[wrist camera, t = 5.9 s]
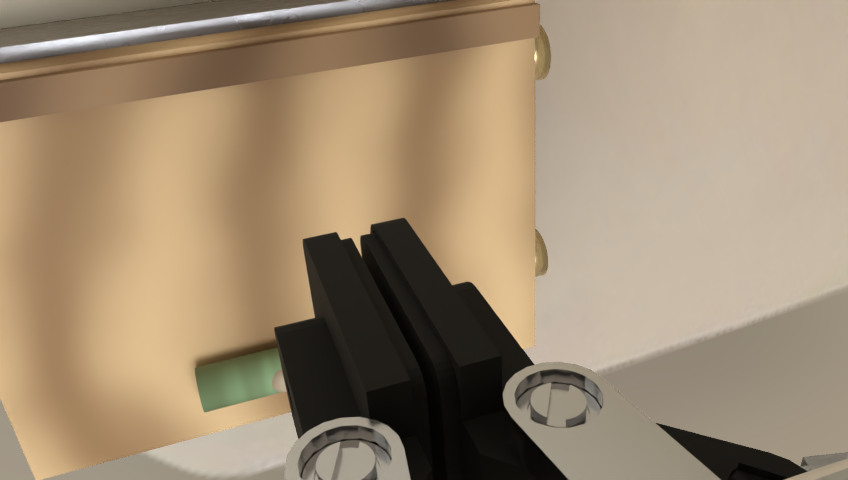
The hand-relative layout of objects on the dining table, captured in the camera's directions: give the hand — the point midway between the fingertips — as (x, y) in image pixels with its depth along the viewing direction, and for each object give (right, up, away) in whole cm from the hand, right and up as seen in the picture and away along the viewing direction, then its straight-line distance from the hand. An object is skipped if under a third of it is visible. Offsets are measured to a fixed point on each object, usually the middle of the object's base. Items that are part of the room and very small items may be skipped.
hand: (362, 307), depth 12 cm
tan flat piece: (-5, +1, +18) cm, 19 cm away
